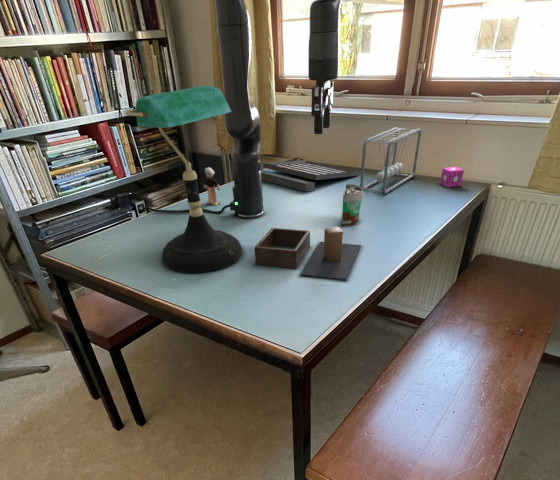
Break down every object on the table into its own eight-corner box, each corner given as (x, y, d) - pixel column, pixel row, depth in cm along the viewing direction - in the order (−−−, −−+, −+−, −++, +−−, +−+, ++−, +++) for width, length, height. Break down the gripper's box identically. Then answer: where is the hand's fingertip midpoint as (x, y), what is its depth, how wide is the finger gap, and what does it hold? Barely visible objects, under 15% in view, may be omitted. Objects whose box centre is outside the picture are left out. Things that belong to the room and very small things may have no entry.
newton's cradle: (391, 173, 181) (397, 125, 169) (415, 176, 176) (422, 127, 164) (359, 191, 162) (363, 140, 151) (384, 195, 157) (390, 142, 146)
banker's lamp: (203, 283, 108) (172, 98, 83) (141, 265, 118) (95, 96, 93) (261, 246, 125) (249, 84, 100) (202, 233, 135) (178, 83, 110)
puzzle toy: (447, 187, 162) (450, 171, 158) (439, 183, 166) (442, 168, 162) (460, 185, 163) (464, 170, 159) (452, 182, 167) (455, 166, 163)
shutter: (304, 176, 201) (254, 181, 183) (305, 160, 198) (254, 163, 179) (357, 185, 182) (307, 191, 163) (359, 167, 178) (308, 171, 160)
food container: (360, 228, 133) (363, 195, 126) (341, 227, 134) (343, 195, 128) (362, 215, 142) (365, 183, 136) (344, 214, 143) (346, 183, 137)
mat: (300, 275, 109) (300, 274, 109) (320, 243, 125) (320, 241, 125) (346, 280, 106) (346, 279, 105) (360, 246, 122) (360, 245, 122)
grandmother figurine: (202, 204, 158) (196, 168, 150) (207, 201, 160) (202, 165, 152) (220, 206, 155) (215, 169, 147) (225, 203, 158) (220, 166, 150)
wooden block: (323, 256, 116) (324, 228, 111) (336, 254, 117) (338, 226, 112) (327, 262, 113) (328, 233, 108) (341, 260, 114) (343, 231, 109)
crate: (255, 264, 115) (254, 247, 112) (272, 244, 126) (271, 227, 123) (296, 268, 112) (295, 251, 109) (310, 247, 123) (310, 230, 120)
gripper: (315, 54, 109) (315, 126, 120) (301, 58, 99) (301, 135, 109) (344, 53, 107) (341, 126, 118) (332, 57, 97) (330, 136, 107)
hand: (322, 130), depth 114 cm, fingers open, 8 cm apart
